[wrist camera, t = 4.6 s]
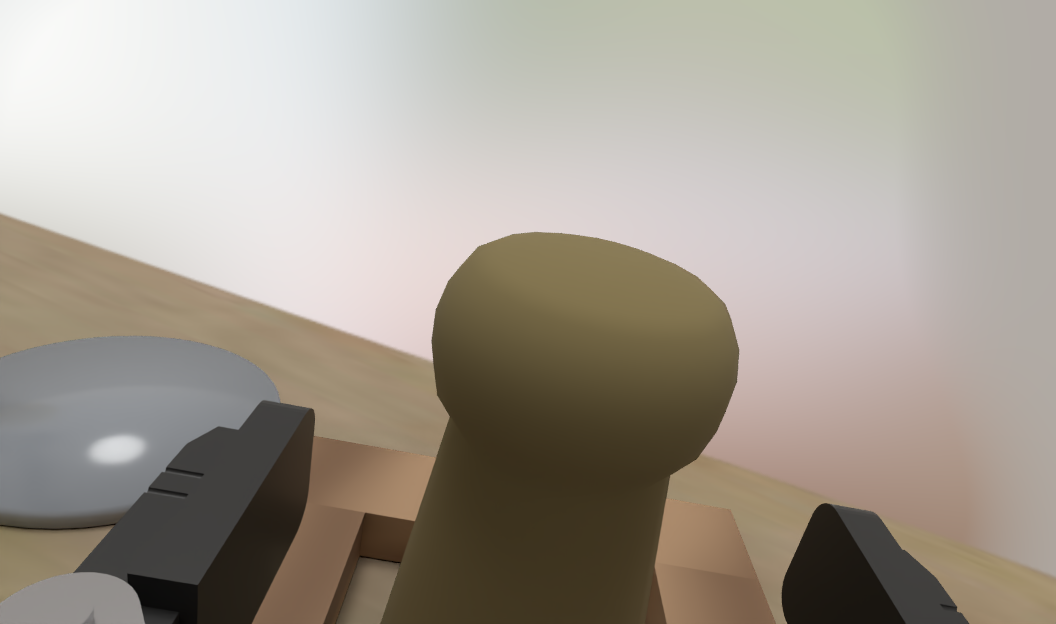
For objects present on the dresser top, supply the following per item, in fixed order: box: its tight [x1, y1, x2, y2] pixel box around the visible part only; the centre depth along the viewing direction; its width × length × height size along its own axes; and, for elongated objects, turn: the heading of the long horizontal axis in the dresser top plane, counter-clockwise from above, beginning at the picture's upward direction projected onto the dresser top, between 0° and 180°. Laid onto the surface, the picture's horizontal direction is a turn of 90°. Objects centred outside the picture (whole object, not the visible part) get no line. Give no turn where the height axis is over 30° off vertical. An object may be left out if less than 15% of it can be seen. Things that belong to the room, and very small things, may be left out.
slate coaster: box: [0, 336, 280, 529], centre depth 22 cm, size 10×10×1 cm
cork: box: [381, 232, 739, 624], centre depth 13 cm, size 6×6×11 cm
